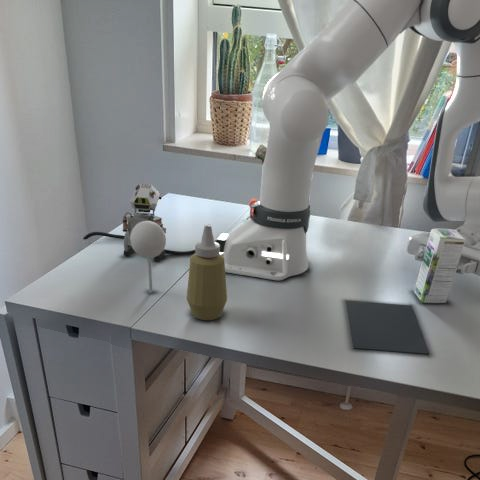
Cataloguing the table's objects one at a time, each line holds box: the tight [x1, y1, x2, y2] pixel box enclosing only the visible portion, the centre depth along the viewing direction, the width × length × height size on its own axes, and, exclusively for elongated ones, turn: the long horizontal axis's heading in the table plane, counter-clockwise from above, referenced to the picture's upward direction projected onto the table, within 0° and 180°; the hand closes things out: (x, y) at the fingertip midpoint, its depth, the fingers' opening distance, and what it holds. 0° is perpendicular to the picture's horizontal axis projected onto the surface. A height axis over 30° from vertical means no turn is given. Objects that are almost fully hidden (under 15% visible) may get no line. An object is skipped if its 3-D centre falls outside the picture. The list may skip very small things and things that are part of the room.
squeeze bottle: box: [186, 223, 228, 321], centre depth 109 cm, size 8×8×18 cm
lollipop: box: [130, 221, 167, 294], centre depth 116 cm, size 7×7×15 cm
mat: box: [345, 300, 429, 355], centre depth 114 cm, size 14×20×1 cm
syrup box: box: [413, 228, 466, 304], centre depth 121 cm, size 6×6×14 cm
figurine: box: [122, 183, 167, 262], centre depth 133 cm, size 9×12×15 cm
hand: (438, 263), depth 121 cm, fingers open, 8 cm apart
